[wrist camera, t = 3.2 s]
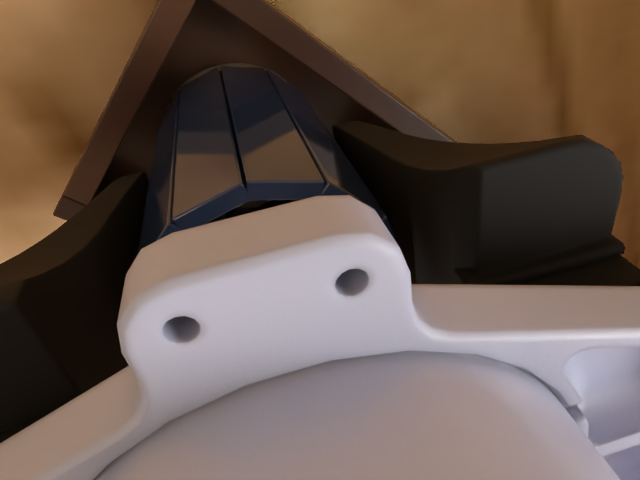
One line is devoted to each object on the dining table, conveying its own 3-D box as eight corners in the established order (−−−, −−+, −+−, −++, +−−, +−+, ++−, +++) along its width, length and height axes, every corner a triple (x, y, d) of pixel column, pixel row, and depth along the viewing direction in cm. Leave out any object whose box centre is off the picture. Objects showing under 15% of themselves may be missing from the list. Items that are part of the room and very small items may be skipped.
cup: (132, 168, 15) (87, 355, 8) (208, 27, 13) (227, 123, 7) (264, 230, 17) (309, 415, 11) (343, 117, 15) (455, 254, 9)
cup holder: (401, 320, 22) (423, 360, 20) (70, 176, 15) (51, 215, 13) (520, 189, 19) (559, 220, 17) (187, -60, 12) (186, -57, 10)
